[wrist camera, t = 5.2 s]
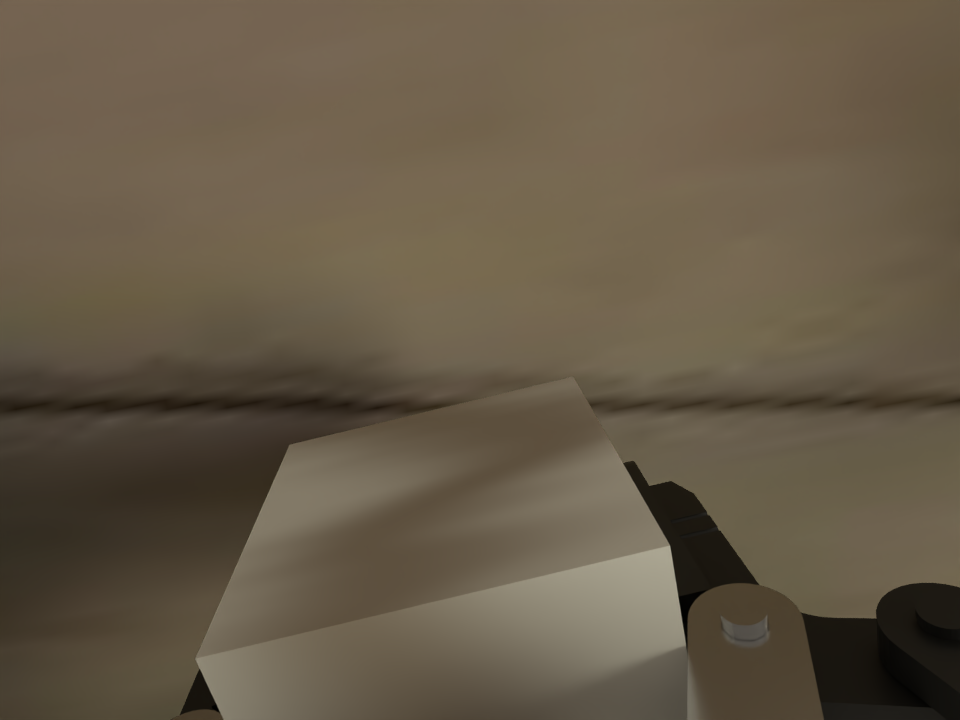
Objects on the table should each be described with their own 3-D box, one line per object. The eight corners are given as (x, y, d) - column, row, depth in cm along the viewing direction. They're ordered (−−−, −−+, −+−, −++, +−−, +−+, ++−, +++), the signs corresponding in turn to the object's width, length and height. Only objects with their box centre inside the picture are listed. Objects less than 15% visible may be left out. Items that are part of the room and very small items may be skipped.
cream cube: (572, 376, 12) (670, 545, 7) (618, 609, 13) (722, 873, 9) (289, 444, 12) (195, 658, 7) (370, 668, 13) (337, 963, 9)
